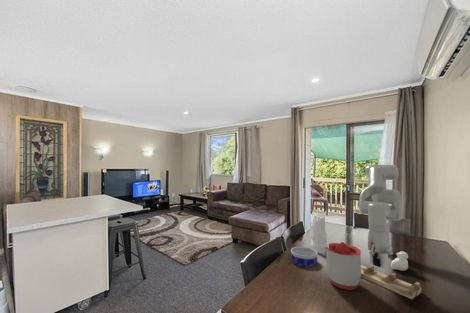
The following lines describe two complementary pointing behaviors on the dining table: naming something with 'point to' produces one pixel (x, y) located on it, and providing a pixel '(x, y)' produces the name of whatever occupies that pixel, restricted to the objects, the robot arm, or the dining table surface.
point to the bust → (400, 261)
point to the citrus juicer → (343, 265)
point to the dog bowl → (304, 256)
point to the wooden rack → (390, 282)
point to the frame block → (381, 260)
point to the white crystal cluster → (319, 234)
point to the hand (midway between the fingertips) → (378, 264)
